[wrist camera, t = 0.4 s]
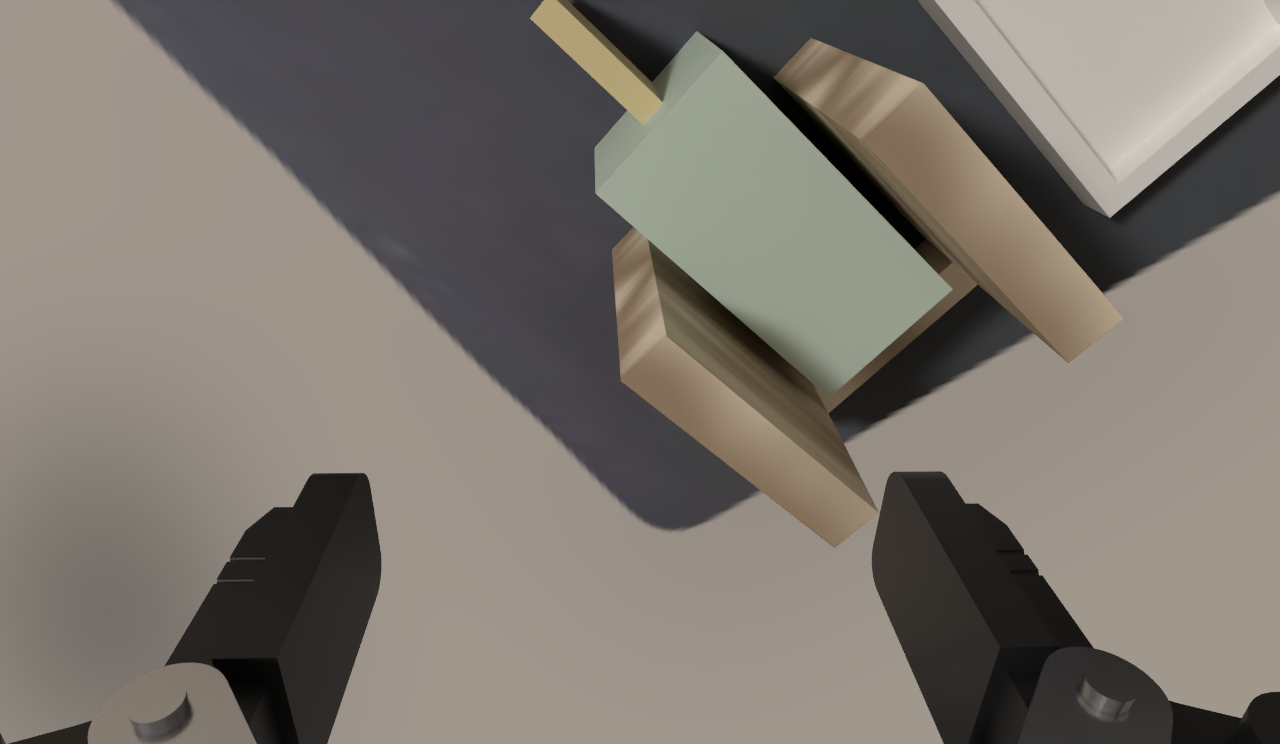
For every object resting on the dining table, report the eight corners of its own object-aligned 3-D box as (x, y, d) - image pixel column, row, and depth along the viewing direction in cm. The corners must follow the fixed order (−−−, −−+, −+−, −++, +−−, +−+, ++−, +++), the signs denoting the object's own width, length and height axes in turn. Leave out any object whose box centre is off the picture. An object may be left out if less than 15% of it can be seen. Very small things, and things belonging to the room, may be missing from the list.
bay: (810, 37, 31) (923, 83, 21) (983, 229, 35) (1151, 350, 25) (611, 249, 35) (620, 380, 24) (789, 401, 39) (863, 570, 28)
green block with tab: (599, -70, 29) (602, -74, 23) (889, 229, 35) (953, 289, 29) (497, 60, 31) (474, 87, 25) (789, 323, 37) (828, 397, 31)
